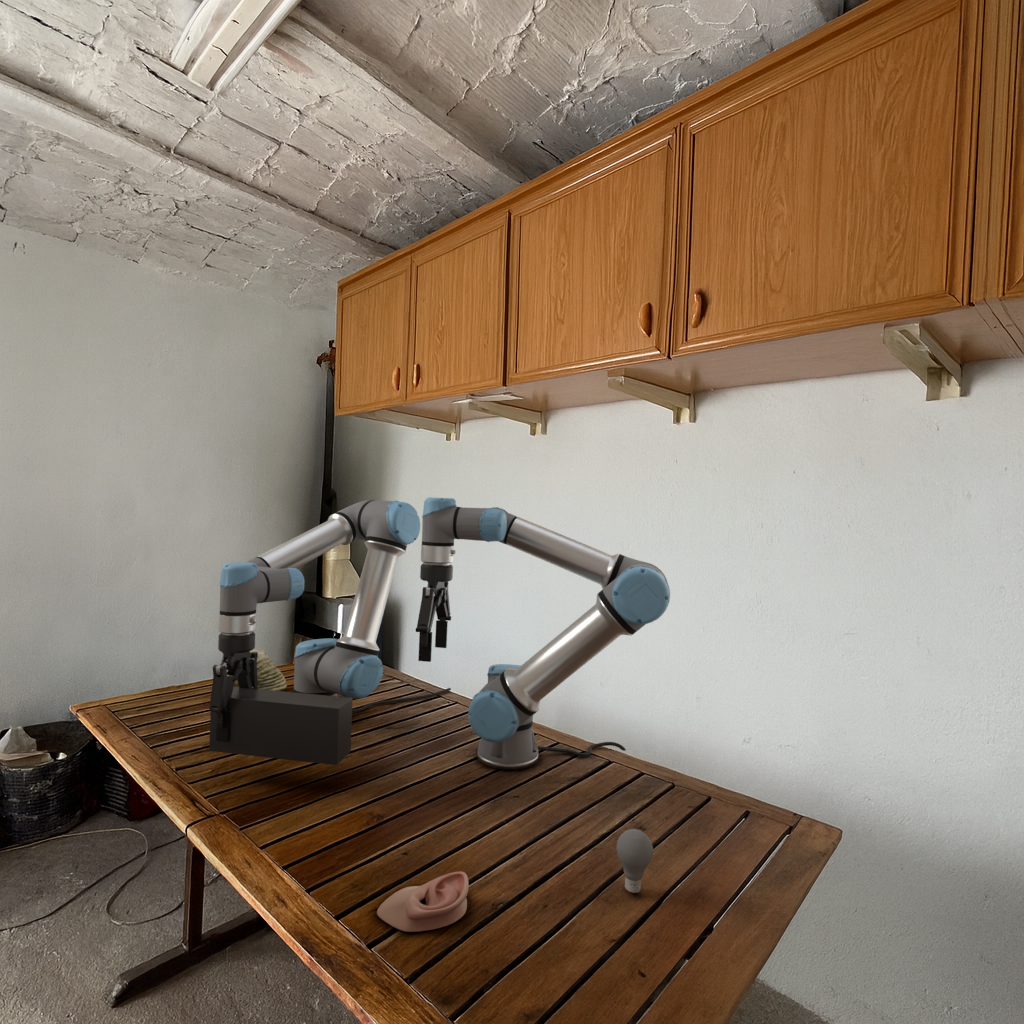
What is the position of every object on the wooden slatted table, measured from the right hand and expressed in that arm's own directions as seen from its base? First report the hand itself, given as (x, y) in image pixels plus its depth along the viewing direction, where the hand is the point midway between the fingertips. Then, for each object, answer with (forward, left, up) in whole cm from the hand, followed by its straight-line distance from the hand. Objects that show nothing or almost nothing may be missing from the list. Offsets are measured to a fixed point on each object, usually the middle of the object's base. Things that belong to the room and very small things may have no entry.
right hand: (433, 654), depth 148 cm
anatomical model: (+18, +47, -28) cm, 57 cm away
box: (+32, -7, -21) cm, 39 cm away
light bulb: (-16, +57, -28) cm, 65 cm away
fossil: (+31, -72, -28) cm, 83 cm away
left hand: (+41, -13, -18) cm, 47 cm away
